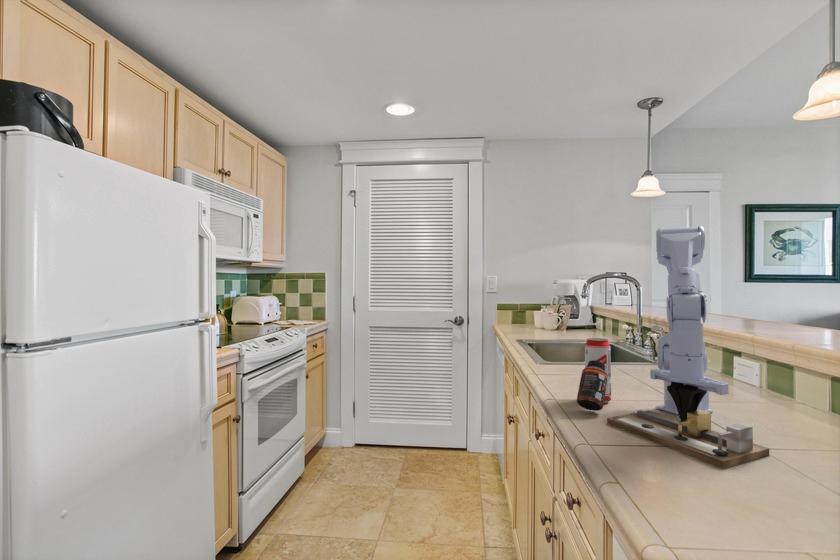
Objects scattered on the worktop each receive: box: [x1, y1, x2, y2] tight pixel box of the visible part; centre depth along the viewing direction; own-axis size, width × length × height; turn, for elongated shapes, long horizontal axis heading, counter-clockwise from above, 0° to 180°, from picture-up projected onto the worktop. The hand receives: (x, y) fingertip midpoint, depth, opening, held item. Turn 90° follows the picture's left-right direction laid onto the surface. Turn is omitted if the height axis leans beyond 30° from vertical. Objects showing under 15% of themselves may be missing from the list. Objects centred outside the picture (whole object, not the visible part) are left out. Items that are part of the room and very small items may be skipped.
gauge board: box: [606, 409, 770, 470], centre depth 82 cm, size 13×24×5 cm, turn 23°
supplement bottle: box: [576, 360, 608, 412], centre depth 100 cm, size 6×6×11 cm
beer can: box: [584, 337, 612, 404], centre depth 108 cm, size 6×6×16 cm
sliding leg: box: [678, 410, 712, 437], centre depth 80 cm, size 8×2×4 cm, turn 113°
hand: (686, 422), depth 83 cm, fingers closed
